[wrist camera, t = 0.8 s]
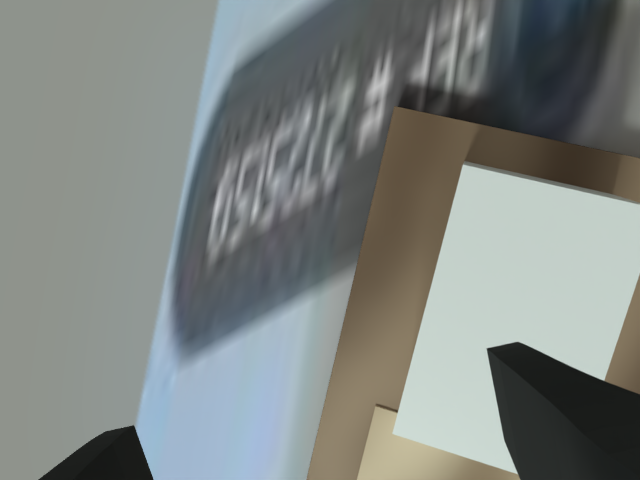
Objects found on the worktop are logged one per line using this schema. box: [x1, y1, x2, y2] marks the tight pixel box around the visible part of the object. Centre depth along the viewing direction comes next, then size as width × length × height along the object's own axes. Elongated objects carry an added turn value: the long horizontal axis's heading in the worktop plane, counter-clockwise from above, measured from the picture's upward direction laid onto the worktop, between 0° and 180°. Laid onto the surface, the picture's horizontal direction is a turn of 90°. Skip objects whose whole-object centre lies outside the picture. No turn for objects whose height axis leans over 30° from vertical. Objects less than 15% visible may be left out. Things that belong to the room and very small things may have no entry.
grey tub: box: [392, 161, 640, 474], centre depth 21 cm, size 6×9×6 cm, turn 168°
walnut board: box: [307, 106, 640, 480], centre depth 26 cm, size 12×24×1 cm, turn 168°
